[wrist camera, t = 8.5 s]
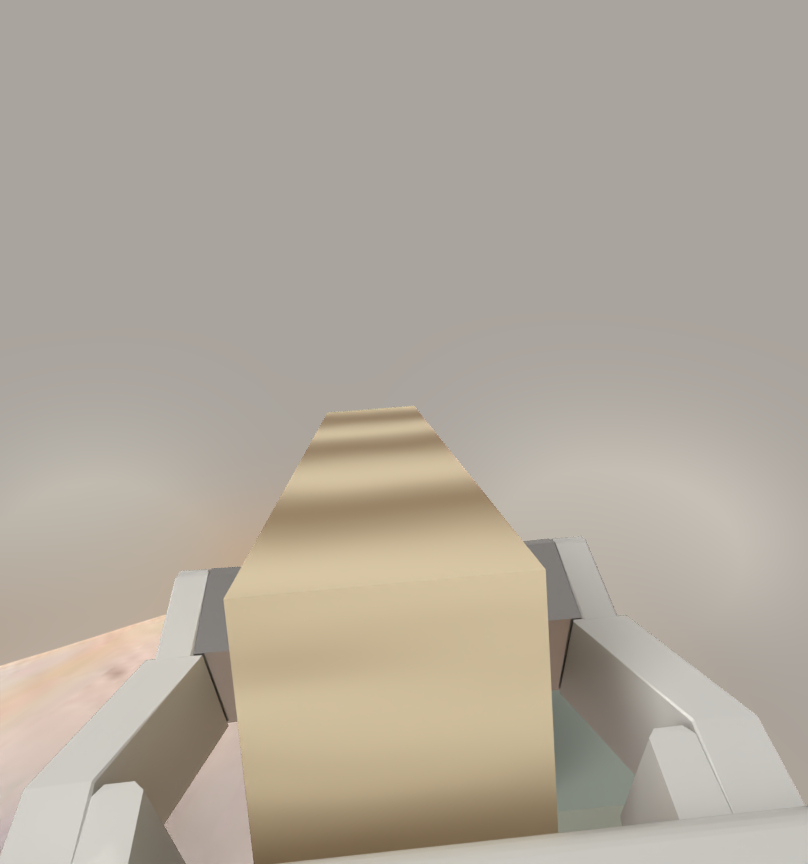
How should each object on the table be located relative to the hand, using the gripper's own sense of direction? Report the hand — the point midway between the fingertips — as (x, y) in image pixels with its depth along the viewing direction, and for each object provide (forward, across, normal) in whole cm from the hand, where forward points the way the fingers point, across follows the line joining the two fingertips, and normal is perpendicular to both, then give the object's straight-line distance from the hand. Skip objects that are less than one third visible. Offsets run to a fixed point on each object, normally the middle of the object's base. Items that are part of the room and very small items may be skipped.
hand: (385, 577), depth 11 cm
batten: (+4, 0, -5) cm, 7 cm away
